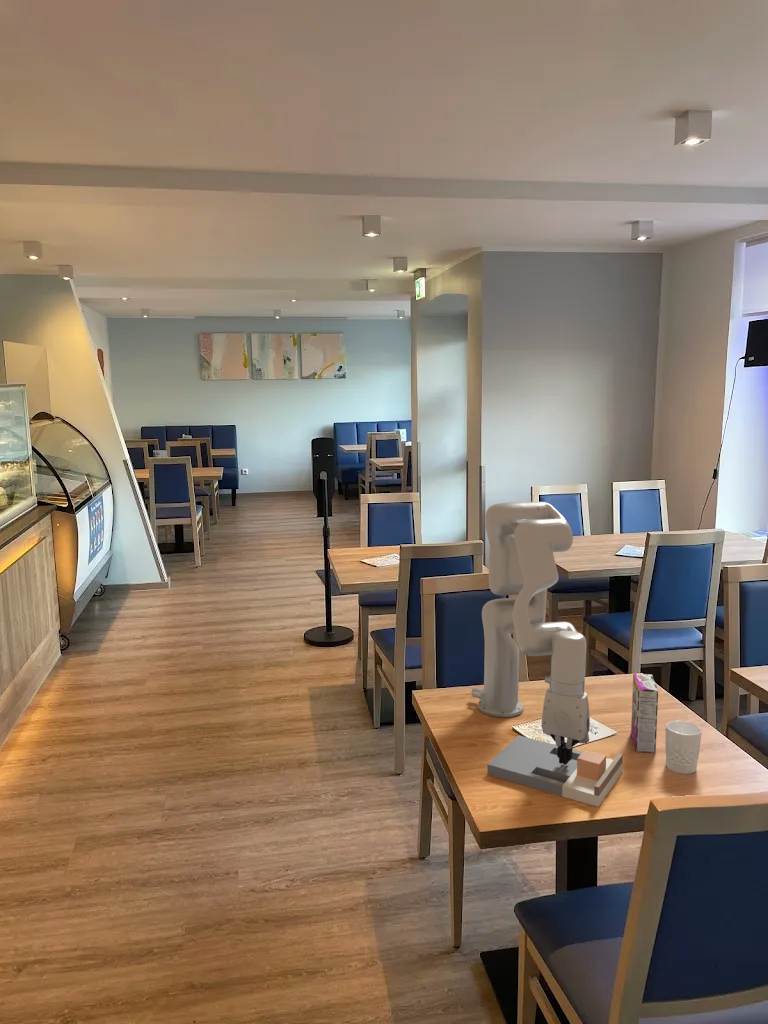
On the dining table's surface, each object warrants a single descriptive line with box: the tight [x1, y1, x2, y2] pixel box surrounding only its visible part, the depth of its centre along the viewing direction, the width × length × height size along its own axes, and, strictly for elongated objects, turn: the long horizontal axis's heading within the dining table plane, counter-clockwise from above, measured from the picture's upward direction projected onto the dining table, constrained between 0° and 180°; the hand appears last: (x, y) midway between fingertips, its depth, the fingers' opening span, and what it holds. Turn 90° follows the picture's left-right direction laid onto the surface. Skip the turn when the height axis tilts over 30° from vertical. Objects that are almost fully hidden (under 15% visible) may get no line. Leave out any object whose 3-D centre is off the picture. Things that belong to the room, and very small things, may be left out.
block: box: [577, 749, 607, 781], centre depth 170 cm, size 5×5×4 cm
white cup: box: [664, 719, 703, 775], centre depth 177 cm, size 8×8×10 cm
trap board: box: [486, 735, 624, 808], centre depth 175 cm, size 26×18×4 cm
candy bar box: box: [630, 672, 659, 754], centre depth 189 cm, size 11×5×16 cm, turn 168°
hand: (564, 761), depth 173 cm, fingers closed
